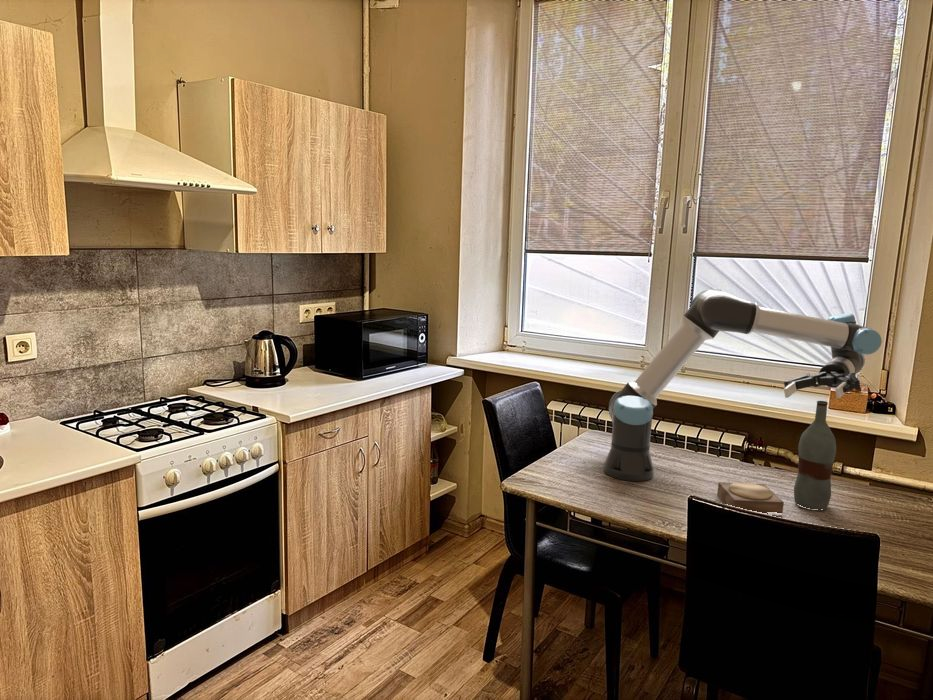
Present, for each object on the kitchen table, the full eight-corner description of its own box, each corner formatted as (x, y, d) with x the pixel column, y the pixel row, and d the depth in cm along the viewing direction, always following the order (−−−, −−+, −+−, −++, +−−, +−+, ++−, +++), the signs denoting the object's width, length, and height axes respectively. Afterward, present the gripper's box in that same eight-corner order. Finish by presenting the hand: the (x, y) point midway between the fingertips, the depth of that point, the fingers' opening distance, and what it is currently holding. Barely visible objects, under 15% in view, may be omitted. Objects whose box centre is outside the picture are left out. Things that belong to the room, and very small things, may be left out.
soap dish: (717, 495, 191) (718, 480, 190) (762, 497, 190) (764, 482, 190) (733, 514, 178) (735, 497, 177) (782, 516, 178) (784, 500, 177)
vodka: (804, 512, 181) (816, 406, 175) (785, 499, 190) (796, 397, 184) (836, 511, 182) (849, 406, 176) (816, 498, 191) (828, 397, 185)
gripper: (885, 384, 190) (862, 407, 176) (795, 384, 208) (767, 405, 194) (882, 359, 189) (858, 380, 175) (791, 361, 207) (764, 380, 193)
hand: (810, 393), depth 185 cm, fingers open, 13 cm apart
